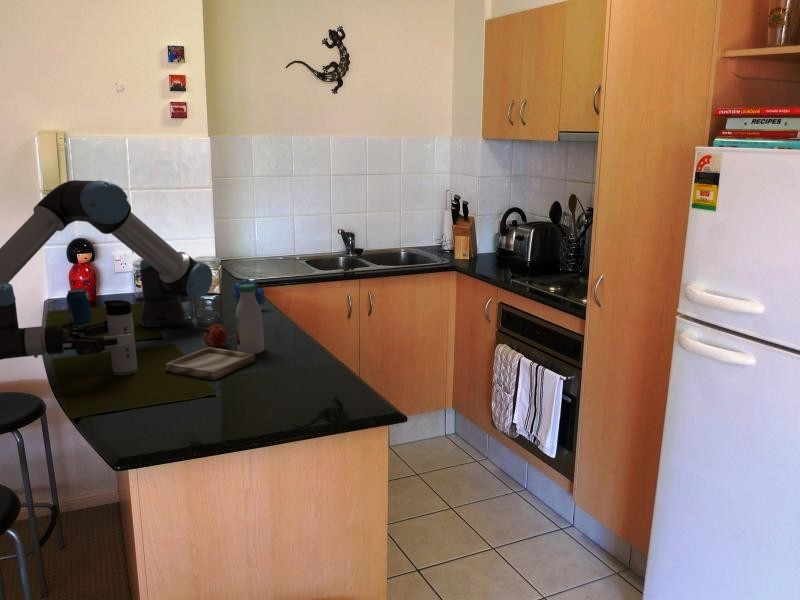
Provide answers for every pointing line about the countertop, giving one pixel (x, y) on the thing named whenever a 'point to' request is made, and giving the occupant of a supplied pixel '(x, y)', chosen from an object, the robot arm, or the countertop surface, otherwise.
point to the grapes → (258, 292)
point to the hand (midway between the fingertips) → (132, 332)
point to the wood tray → (210, 363)
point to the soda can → (78, 307)
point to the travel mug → (121, 325)
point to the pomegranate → (215, 336)
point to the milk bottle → (249, 322)
